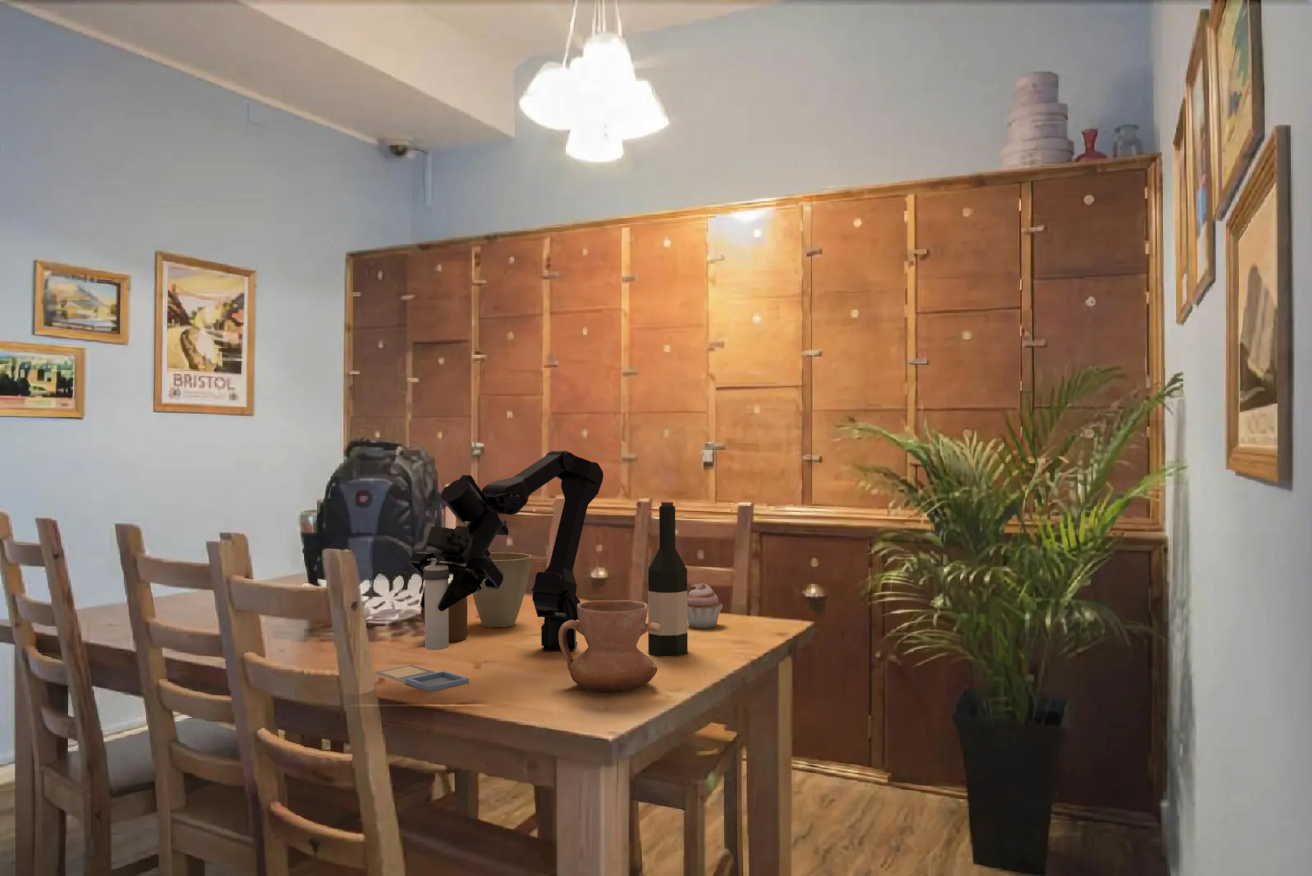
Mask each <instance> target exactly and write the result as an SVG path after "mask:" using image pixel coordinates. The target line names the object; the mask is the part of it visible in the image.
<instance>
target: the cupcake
mask: <svg viewBox="0 0 1312 876" xmlns="http://www.w3.org/2000/svg"><path fill="white" fill-rule="evenodd" d="M722 608H723V604H722V603H719V598H718V595H717V594H716V593H715V592H714V589H712V587H711V586H710V585H708V584H707V583H704V582H701V583H700V584H698V585H697V586H696V587H695V589H691V590H690V591H689V592H688V593H687V625H689V627H691V628H693V629H700V628H701V629H712V627H713V628H715V627H717V624H718V619H719V616H720V613H721V610H722Z"/></svg>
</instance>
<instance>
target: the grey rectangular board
mask: <svg viewBox="0 0 1312 876" xmlns="http://www.w3.org/2000/svg"><path fill="white" fill-rule="evenodd" d="M374 672H375V673H374V674H375V675H377V676H378V675H379V676H382V677H384V678H387V679H391V680H394V681H396V682H399V683H401V684H405V685H407V686H411V687H414V688H417V689H420V690H423V691H426V692H429V693H431V692H436V691H440V690H444V689H449V688H454V687H458V686H463V685H466V684H467V685H468V684H470V677H466V676H464V675H460V674H456V673H453V672H449V671H445V670H441V671H433V670H430V669H427V668H423V667H420V666H417V665H413V664H409V665H405V666H400V667H399V666H398V667H394V668H390V669H385V670H384V669H383V670H380V671H374Z"/></svg>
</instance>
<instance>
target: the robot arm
mask: <svg viewBox="0 0 1312 876" xmlns="http://www.w3.org/2000/svg"><path fill="white" fill-rule="evenodd" d="M555 478H557V479H559V480H560V482H561V483H560V488H561V491H562V494H563V495H562V496H563V497H564V501H563V507H562V509H561V515H560V519H559V523H558V526H557V527H558V528H557V531H556V535H555V540H554V543H553V544H554V545H553V547H552V552H551V556H550V561H549V563H548V566H547V567H546V569H545V570H544V571H537V573H536V574H535V578H534V579H535V580H534V585H533V587H532V589H531V591H532V597H531V599H532V602H533V605H534V607H535V608H534V609H535V614H536V615H537V618H544V619H543V624H542V625H541V626H540V630H541V631H540V632H541V633H540V634H541V636H540V637H541V638H540V639H541V643H540V644H541V646H542V651H545V652H547V651H550V652H551V651H562V650H561V648H560V645H559V630H560V627H561V626H562V624H563V623H565V622H567V621H569V620H576V621H579V619H578V614H577V604H579V603H581V601H580V599H579V598H578V596H577V589H578V586H577V581H576V577H575V576H574V566H575V561H576V557H577V554H578V549H579V545H580V541H581V536H582V533H583V528H584V524H585V519H586V514H587V510H588V506H589V505H590V504H591V502H592V501H593V500H594V499H595V498H596V497H597V496H598V494H599V492H600V489H601V486H602V483H603V481H604V471H603V469H602V468H601V466H600V464H599V463H598V462H595V461H591V460H588V459H586V458H583V457H580V456H577V455H575V454H573V453H572V452H570V451H568V450H550V451H549V452H547V453H546V454H545V456H543V457H542V458H540V459H538V460H536V461H535V462H534V463H532V464H530V466H528V467H526V468H525V469H523V470H522V471H520V472H519V473H517V474H515V475H514V476H512V477H508V478H504V479H499V480H496V481H492V482H491V483H489V484H486V485H485V486H483V488H482V490H481V489H480V486H479V485H478V484H477V483H476V481H475V479H474V477H473V476H472V475H470V474H462V475H461V476H460V478H459V479H456V480H454V481H452V482H451V483H449V484H448V485H447V486H445V487H444V488H443V489H442V491H441V494H440V498H441V500H442V502H443V503H444V504H445V506H446V507H448V509H449V511H451V513H452V514H453V515H454V517H455V518H456V519H457V520H458V521H459V522H461V523H465V522H466V525H465V526H462V525H457V526H455V527H454V528H449V527H443V526H430V529H429V532H428V534H427V535H428V536H427V538H426V540H425V541H426V542H425V545H427V546H429V547H431V546H432V547H433V548H435V549H437V550H439V551H438V552H437V553H438V554H439V556H440V557H441V558H444V559H443V561H442V560H440V559H438V557H437V556H436V555H435V554H434V553H433V552H427V551H426V552H423V551H417V552H414V553H413V554H412V555H411V557H410V558H409V560H408V564H410V566H411V567H412V568H413V569H414V570H415V572H416V573H417V574H418V575H419V576H420V577H421V579H423V569H425V567H426V566H432V565H446V566H448V568H449V576H450V575H451V576H452V580H451V582H450V583H449V584H448V589H447V591H446V592H445V594H444V596H443V598H442V599H441V601H440V603H439V606H438V609H439V610H440V611H444V610H445V609H447V608H449V607H450V606H452V605H453V604H455V603H457V602H458V601H460V600H462V599H463V598H465V597H467V598H468V597H469V596H470V595H473V594H472V593H474V592H476V591H481V589H482V587H481V586H480V585H481V583H482V582H483V580H486V581H485V586H486V587H487V588H490V589H499V587H500V585H501V584H502V582H503V573H502V572H501V570H500V569H499V568H498V567H497V565H496V564H495V563H494V562H493V560H492V559H491V558H488V557H489V556H490V554H491V553H492V552H490V551H489V549H490V546H491V545H492V543H493V542H494V541H495V538H497V535H498V536H499V535H500V536H508V535H509V528H508V525H507V522H508V521H507V520H502V518H500V516H499V515H504V516H507V515H508V516H514V515H515V514H516V515H517V514H518V513H519V512H520V511H521V510H522V509H523V508H524V507H525V506H526V505H527V504H528V501H529V497H530V496H531V495H532V494H533V493H534V492H536V491H537V490H539V489H541V487H543V486H545V485H546V484H548V483H549V482H551V481H552V480H553V479H555ZM485 577H487V579H486V578H485ZM423 581H425V579H423ZM419 606H420V608H422V609H425V585H424V586H423V590H422V595H421V600H420V603H419ZM566 640H567V646H568V648H569V651H575V650H576V648H577V647H578V641H577V631H576V630H574V629H571V628H570V629H568V631H567V633H566Z"/></svg>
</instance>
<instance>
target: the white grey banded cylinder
mask: <svg viewBox="0 0 1312 876" xmlns="http://www.w3.org/2000/svg"><path fill="white" fill-rule="evenodd" d="M422 579H423V580H424V579H425V580H424V586H425V622H424V649H425V650H429V651H441V650H445V649H448V648H449V647H450V645H449V643H450V642H449V617H448V608H447V609H445V610H444V611H440V610H439V609H438V606H439V603H440V601H441V599H442V598H443V596H444V594H445V592H446V591H447V589H448V585H449V579H450V574H449V568H448V566H446V565H432V566H426V567H425V569H423V578H422Z"/></svg>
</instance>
